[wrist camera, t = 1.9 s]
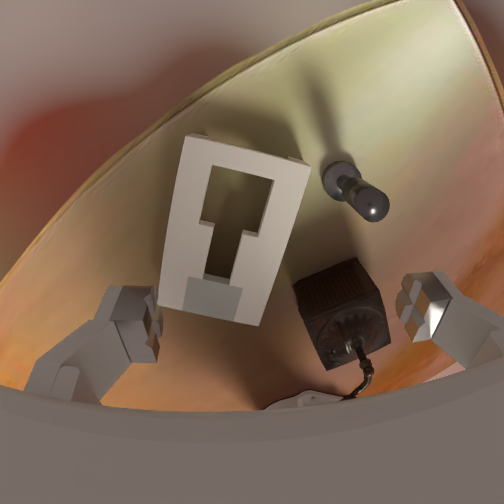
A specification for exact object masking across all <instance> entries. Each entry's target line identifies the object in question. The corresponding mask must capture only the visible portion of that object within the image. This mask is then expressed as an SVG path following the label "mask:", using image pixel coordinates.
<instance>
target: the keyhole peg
mask: <svg viewBox="0 0 504 504" xmlns="http://www.w3.org/2000/svg"><path fill="white" fill-rule="evenodd" d="M322 184H323V188H324V190H325V191H326V192H327V194H328V195H329V196H330V197H332V198H333V199H335V200H337V201H342V202H343V201H346V202H347V203H348V204H349V205H350V206H351V207H353V208H354V209H355V210H356V211H357V212H358V213H359V214H360V215H361V216H362V217H363V218H364V219H365V220H367V221H369V222H378V221H380V220H382V219H383V218H384V217H385V216H386V215H387V213H388V211H389V206H390V203H389V199H388V197H387V196H386V194H385V193H383V192H382V191H380V190H379V189H377V188H375V187H374V186H372V185H371V184H369V183H368V182H366V181H364V180H363V179H362V177H361V174H360V172H359V170H358V169H357V168H356V167H355V166H353V165H351V164H350V163H347V162H344V161H338V162H334V163H332V164H330V165H329V166H328V167H327V168H326V170H325V171H324V173H323V177H322Z"/></svg>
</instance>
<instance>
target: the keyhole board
mask: <svg viewBox="0 0 504 504" xmlns="http://www.w3.org/2000/svg"><path fill="white" fill-rule="evenodd" d="M212 165H215V166H219V167H224V168H228V169H232V170H236V171H241V172H245V173H249V174H253V175H257V176H261V177H264V178H268V179H272V180H273V181H272V185H271V188H270V192H269V195H268V198H267V202H266V205H265V209H264V212H263V216H262V219H261V222H260V226H259V229H258V233H255V232H251V231H247V230H243V231H242V234H241V238H240V242H239V246H238V249H237V253H236V257H235V261H234V264H233V268H232V272H231V276H230V279H227V278H223V277H218V276H214V275H209V274H204V270H205V265H206V260H207V256H208V251H209V247H210V243H211V238H212V234H213V229H214V225H215V223H212V222H208V221H203V220H200V218H201V214H202V209H203V204H204V200H205V195H206V191H207V187H208V182H209V178H210V174H211V169H212ZM311 169H312V167H311V166H310V165H308V164H307V163H306V162H305V161H303V160H300V159H297V158H293V157H290V156H288V158H287V159H286V158H283V157H279V156H276V155H272V154H268V153H264V152H260V151H257V150H253V149H249V148H245V147H241V146H236V145H232V144H228V143H224V142H219V141H215V140H210V139H208V136H205V135H201V134H196V133H191V134H189V135H186V136H185V139H184V144H183V148H182V153H181V158H180V162H179V167H178V172H177V177H176V182H175V187H174V193H173V198H172V204H171V209H170V215H169V221H168V227H167V233H166V240H165V246H164V253H163V260H162V267H161V275H160V283H159V291H158V300H157V304H158V305H160V306H164V307H168V308H172V309H177V310H181V311H186V312H190V313H195V314H199V315H204V316H209V317H213V318H218V319H223V320H228V321H233V322H238V323H244V324H249V325H254V326H259V323H260V321H261V318H262V315H263V312H264V309H265V307H266V304H267V301H268V298H269V295H270V292H271V289H272V287H273V284H274V281H275V278H276V275H277V272H278V269H279V266H280V263H281V260H282V257H283V254H284V252H285V249H286V246H287V243H288V240H289V237H290V234H291V231H292V228H293V225H294V222H295V218H296V215H297V212H298V209H299V206H300V203H301V200H302V197H303V194H304V191H305V188H306V184H307V181H308V178H309V175H310V172H311Z"/></svg>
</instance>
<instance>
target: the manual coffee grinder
mask: <svg viewBox="0 0 504 504" xmlns="http://www.w3.org/2000/svg"><path fill="white" fill-rule="evenodd" d="M293 288H294V291H295V294H296V296H297V299H298V303H299V306H300V307H299V309H298V310H299V313H300V315H301V317H302V318H303V321H304V323H305V326H306V328H307V331H308V333H309V336H310V338H311V340H312V342H313V345H314V347H315V349H316V351H317V353H318V356H319V358H320V360H321V362H322V364H323V366H324V367H325V369H326V371H328V370H331V369H334V368H336V367H339V366H341V365H344V364H346V363H349V362H351V361H354V360H356V359H359V360H360V364H359V366H360V368H361V369H363V373H364V381H363V382H362V383H361V385H360V386H358V387H357V388H356V389H355V390H354V391H353V392H352V393H351V394H350V395H347V396H346V395H345V396H344V398H342V399H341V400H339V401H344V400H350V399H355V398H356V397H355V396H356V395H358V394H359V393H361V392H362V391H363V390H364V389H366V388H367V387H368V386H369V384H370V382H371V379H372V375H373V374H374V368H373V367H372V366H371V365H372V363H371V360H370V359H367V358H366V355H368V354H370V353H372V352H374V351H376V350H378V349H380V348H382V347H384V346H386V345H388V344H390V343H391V339H390V333H389V328H388V322H387V317H386V312H385V308H384V305H383V301H382V298H381V295H380V291H379V289H378V288H377V286H376V285H375V284H374V282H373V281H372V279H371V278H370V276H369V275H368V274H367V272H366V271H365V269H364V268H363V267H362V265H361V264H360V262H359V261H358V259H357V258H353V259H350V260H347V261H344V262H342V263H339V264H337V265H335V266H332V267H330V268H328V269H325V270H323V271H320V272H318V273H316V274H313V275H311V276H309V277H306V278H304V279H302V280H299V281H298V282H297V283H295V284H294V285H293Z"/></svg>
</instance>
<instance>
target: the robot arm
mask: <svg viewBox="0 0 504 504" xmlns="http://www.w3.org/2000/svg"><path fill="white" fill-rule="evenodd" d="M401 284H402V287H403V289H402V290H401V291H400V292H399V293H398V295H397V298H396V301H395V309H396V313H397V316H398V317H399V319H400V320H401V321H402V322H404V323H406V326H405V330H406V332H407V334H408V335H409V337H410V339H411V341H412V342H417V341H423V340H429V339H432V341H433V342H434V343H435V344H437V345H438V346H439V347H440V348H441V349H443V350H444V351H445V352H446V353H447V354H449V355H450V356H451V357H452V358H453V359H455V360H456V361H457V362H458V363H459V364H461V365H462V366H463V367H464V368H465V369H466V370H464V371H461V372H458V373H455V374H452V375H449V376H446V377H443V378H439V379H436V380H432V381H429V382H425V383H421V384H418V385H414V386H410V387H406V388H402V389H398V390H394V391H389V392H385V393H380V394H376V395H371V396H366V397H361V398H355V399H350V400H344V401H339V400H341V399H342V398H344V397H340V396H335V395H330V394H325V393H321V392H316V391H312V390H307V391H304V392H302V393H300V394H298V395H296V396H294V397H292V398H288V399H284V400H281V401H278V402H276V403H274V404H272V405H270V406H268V407H267V408H266V409H265V410H255V411H232V412H178V411H156V410H141V409H129V408H119V407H110V406H103V405H102V404H101V402H100V399H101V398H102V397H103V396H104V395H105V394H106V393H107V391H108V390H109V389H110V388H111V387H112V386H113V384H114V383H115V382H116V381H117V380H118V379H119V378H120V376H121V375H122V374H123V373H124V372H125V371H126V369H127V368H128V367H129V366H130V365H131V363H157V359H158V354H159V348H160V346H159V342H158V339H159V338H160V337H161V336H162V332H163V315H162V310H161V307H160V306H159V305H158V304H157V300H158V293H157V289H156V287H155V286H126V285H125V286H109V287H108V288H107V290H106V292H105V294H104V296H103V299H102V301H101V303H100V305H99V308H98V310H97V312H96V315H95V317H94V319H93V320H89V321H87V322H86V323H85V324H83V325H82V326H81V327H79V328H78V329H77V330H75V331H74V332H73V333H71V334H70V335H69V336H67V337H66V338H65V339H63V340H62V341H61V342H59V343H58V344H57V345H56V346H54V347H53V348H52V349H50V350H49V351H48V352H47V353H45V354H44V355H43V356H41V357H40V358H39V359H38V360H37V361H36V363H35V365H34V368H33V370H32V372H31V374H30V377H29V379H28V382H27V384H26V386H25V389H24V391H21V390H17V389H14V388H10V387H6V386H3V385H0V504H504V317H502V316H501V315H499V314H497V313H495V312H494V311H492V310H490V309H488V308H487V307H485V306H483V305H481V304H480V303H478V302H476V301H474V300H472V299H471V298H469V297H464V296H463V295H462V293H461V292H460V291H459V290H458V289H457V287H456V286H455V285H454V284H453V282H452V281H451V280H450V279H449V278H448V276H447V275H446V274H445V273H444V272H443V271H441V270H436V271H429V272H422V273H410V274H406V275H405V276H404V277H403V280H402V283H401Z"/></svg>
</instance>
